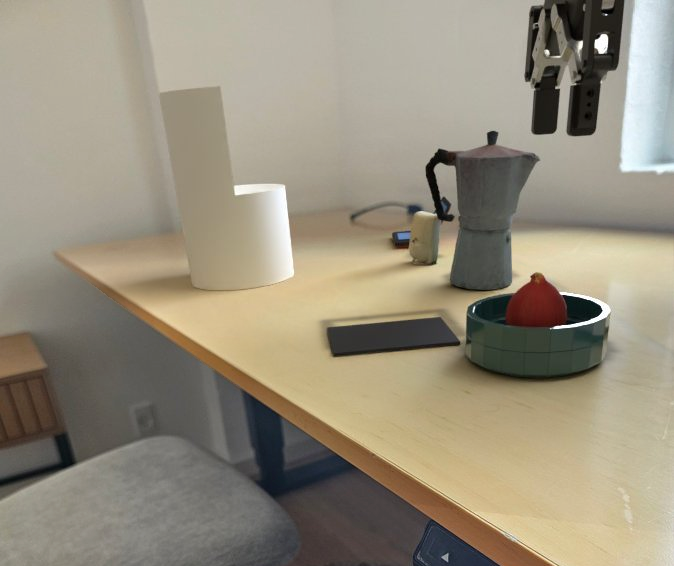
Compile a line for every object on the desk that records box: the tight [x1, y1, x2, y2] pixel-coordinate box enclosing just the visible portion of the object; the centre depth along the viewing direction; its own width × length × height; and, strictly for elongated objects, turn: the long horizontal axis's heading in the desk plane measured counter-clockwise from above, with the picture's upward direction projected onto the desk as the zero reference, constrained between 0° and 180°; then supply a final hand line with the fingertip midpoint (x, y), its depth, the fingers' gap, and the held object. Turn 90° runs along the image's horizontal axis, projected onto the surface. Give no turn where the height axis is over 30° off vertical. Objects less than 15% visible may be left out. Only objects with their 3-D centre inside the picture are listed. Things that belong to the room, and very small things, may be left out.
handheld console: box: [391, 196, 452, 249], centre depth 127 cm, size 12×11×7 cm
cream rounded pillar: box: [408, 210, 442, 266], centre depth 109 cm, size 6×5×8 cm
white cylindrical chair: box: [158, 85, 295, 291], centre depth 104 cm, size 17×17×28 cm
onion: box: [506, 271, 567, 327], centre depth 64 cm, size 6×6×8 cm
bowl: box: [465, 292, 612, 379], centre depth 65 cm, size 13×13×5 cm
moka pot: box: [425, 130, 541, 291], centre depth 91 cm, size 10×15×20 cm, turn 71°
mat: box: [326, 316, 461, 358], centre depth 76 cm, size 14×10×1 cm
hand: (560, 135), depth 58 cm, fingers open, 8 cm apart
